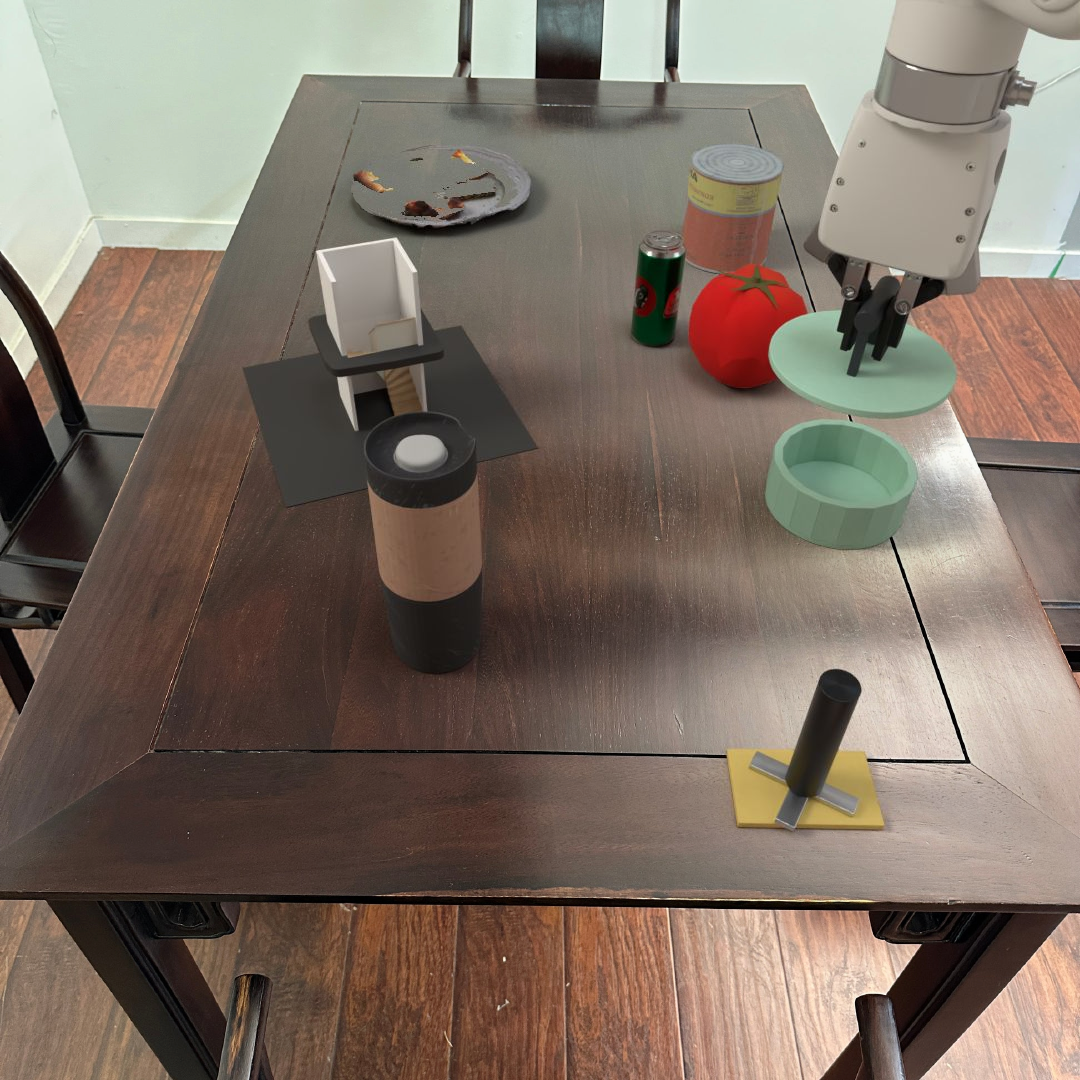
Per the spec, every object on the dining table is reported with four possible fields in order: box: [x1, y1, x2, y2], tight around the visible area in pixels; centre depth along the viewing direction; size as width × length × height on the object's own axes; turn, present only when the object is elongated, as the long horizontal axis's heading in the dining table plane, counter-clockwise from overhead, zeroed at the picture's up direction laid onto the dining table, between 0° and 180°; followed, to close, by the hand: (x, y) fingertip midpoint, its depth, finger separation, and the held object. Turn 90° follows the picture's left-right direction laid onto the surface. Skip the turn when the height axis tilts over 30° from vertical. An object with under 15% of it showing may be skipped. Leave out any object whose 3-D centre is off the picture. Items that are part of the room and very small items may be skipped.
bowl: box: [764, 418, 919, 550], centre depth 89 cm, size 13×13×5 cm
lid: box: [769, 275, 958, 420], centre depth 70 cm, size 14×14×6 cm
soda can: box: [630, 229, 686, 347], centre depth 107 cm, size 5×5×12 cm
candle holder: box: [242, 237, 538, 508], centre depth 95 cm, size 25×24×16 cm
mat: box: [726, 748, 885, 831], centre depth 68 cm, size 10×6×1 cm, turn 89°
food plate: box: [352, 144, 532, 229], centre depth 135 cm, size 25×23×4 cm
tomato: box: [687, 264, 809, 389], centre depth 102 cm, size 12×13×12 cm
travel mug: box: [364, 411, 483, 674], centre depth 71 cm, size 8×8×20 cm
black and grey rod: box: [749, 668, 863, 832], centre depth 64 cm, size 8×8×12 cm
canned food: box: [681, 142, 785, 275], centre depth 121 cm, size 11×11×12 cm
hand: (865, 345), depth 71 cm, fingers closed on lid
